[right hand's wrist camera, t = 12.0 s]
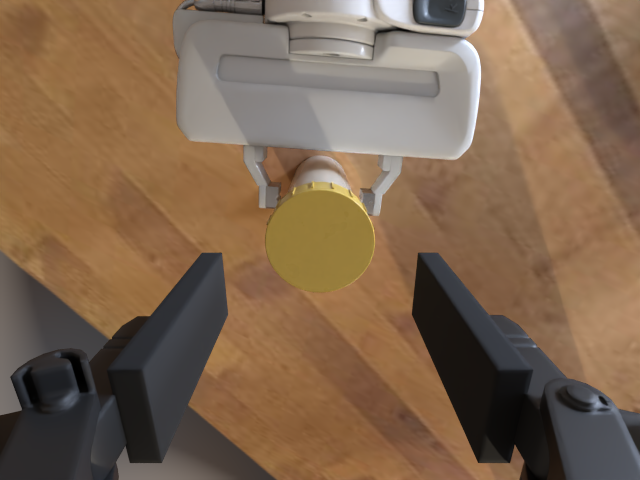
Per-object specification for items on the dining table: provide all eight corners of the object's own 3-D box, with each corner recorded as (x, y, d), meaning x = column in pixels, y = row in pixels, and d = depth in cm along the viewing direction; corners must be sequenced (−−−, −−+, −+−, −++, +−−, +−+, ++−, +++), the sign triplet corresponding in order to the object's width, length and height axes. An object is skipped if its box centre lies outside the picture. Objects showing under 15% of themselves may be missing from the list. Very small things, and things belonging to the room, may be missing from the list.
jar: (306, 215, 35) (297, 296, 20) (284, 168, 33) (255, 217, 18) (354, 195, 34) (381, 263, 19) (333, 146, 33) (345, 178, 18)
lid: (295, 290, 22) (292, 308, 20) (251, 205, 20) (243, 216, 18) (384, 254, 21) (391, 270, 19) (347, 162, 19) (350, 169, 17)
